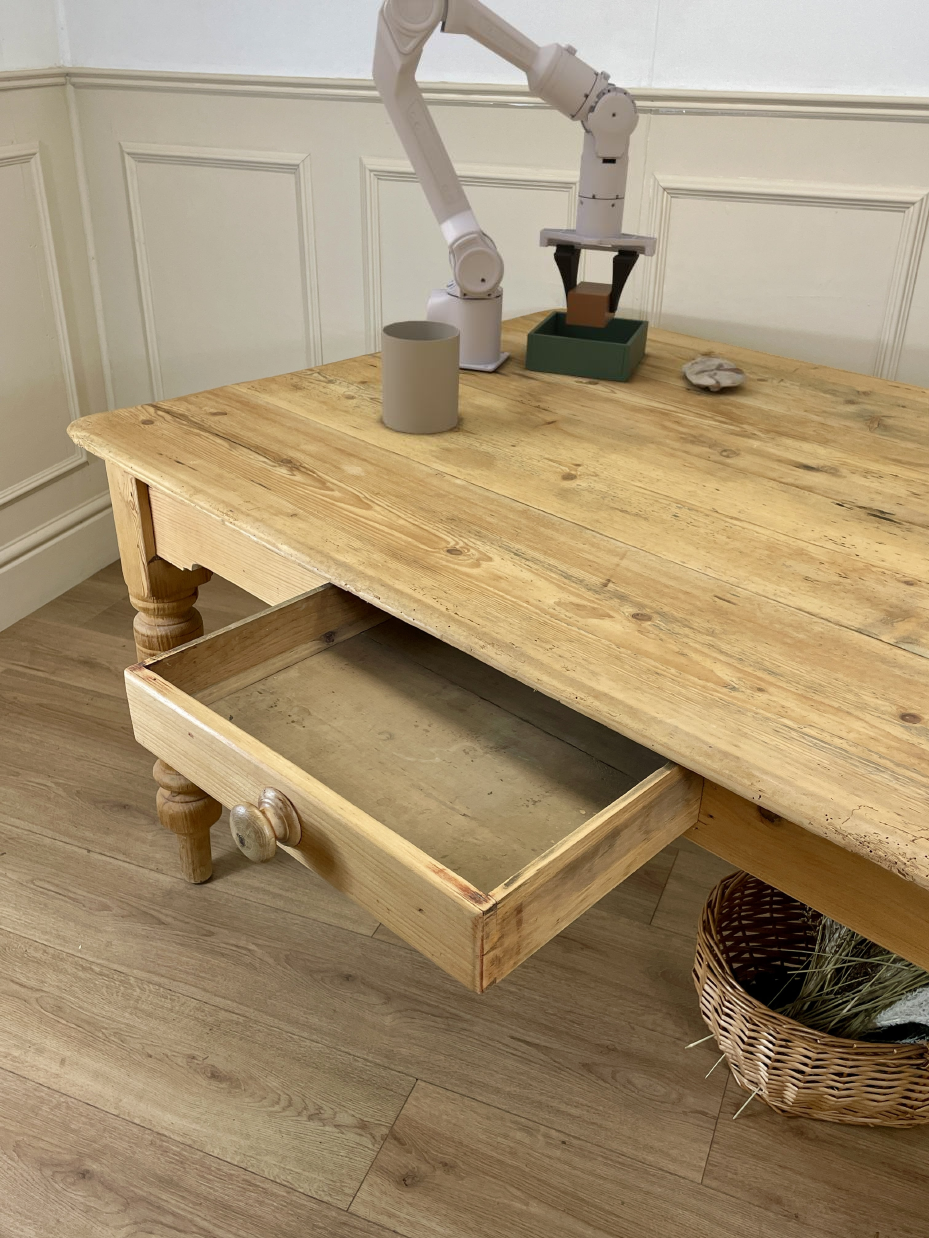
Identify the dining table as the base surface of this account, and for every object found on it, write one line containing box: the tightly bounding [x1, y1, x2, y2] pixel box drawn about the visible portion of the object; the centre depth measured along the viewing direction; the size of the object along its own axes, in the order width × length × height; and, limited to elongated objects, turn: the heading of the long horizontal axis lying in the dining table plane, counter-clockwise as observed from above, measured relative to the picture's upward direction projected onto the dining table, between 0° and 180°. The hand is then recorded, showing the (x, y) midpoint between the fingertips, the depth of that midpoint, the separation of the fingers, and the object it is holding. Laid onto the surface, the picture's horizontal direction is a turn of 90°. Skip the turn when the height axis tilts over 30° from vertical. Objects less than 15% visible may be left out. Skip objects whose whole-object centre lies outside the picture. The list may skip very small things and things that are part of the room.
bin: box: [524, 310, 649, 383], centre depth 131 cm, size 13×13×5 cm
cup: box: [380, 320, 460, 435], centre depth 108 cm, size 8×8×10 cm
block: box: [566, 280, 617, 328], centre depth 128 cm, size 5×7×4 cm
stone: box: [681, 354, 747, 392], centre depth 125 cm, size 10×7×3 cm
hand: (591, 309), depth 129 cm, fingers closed on block, 5 cm apart
